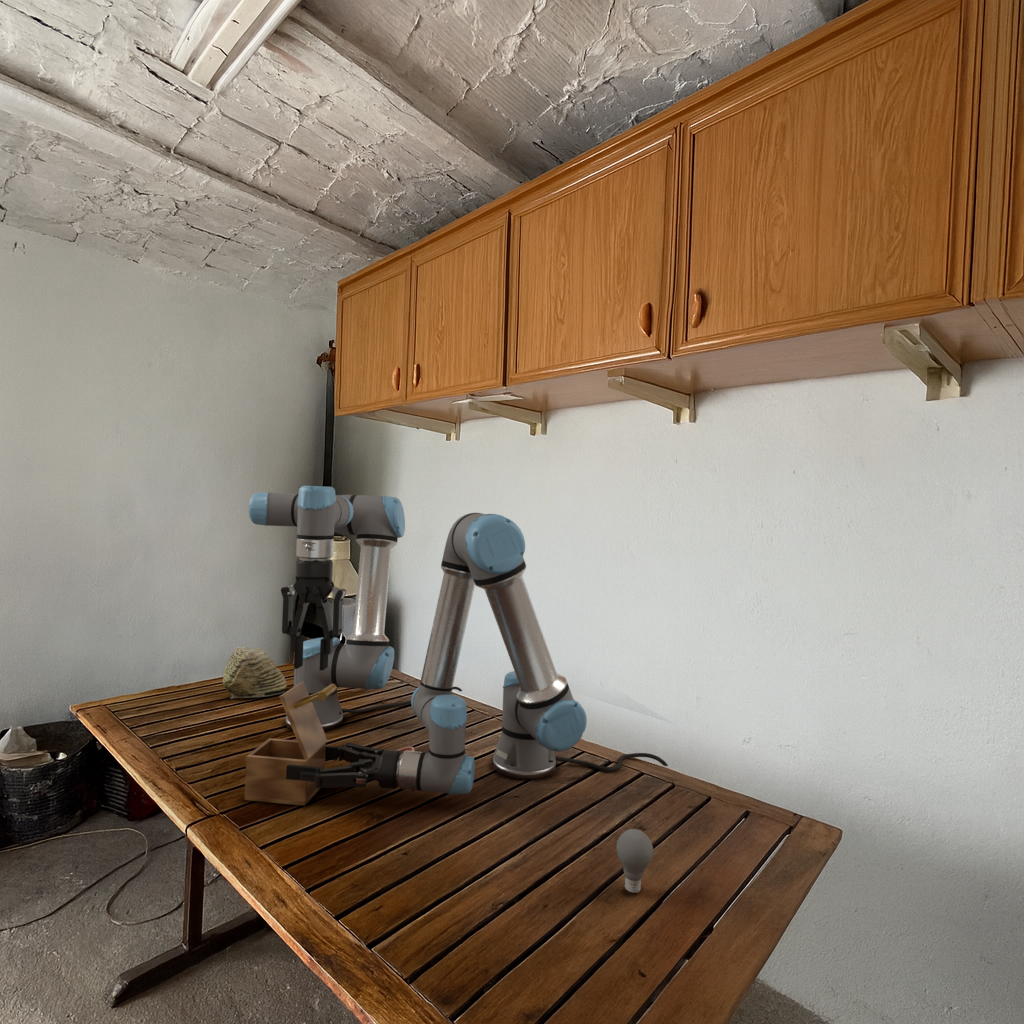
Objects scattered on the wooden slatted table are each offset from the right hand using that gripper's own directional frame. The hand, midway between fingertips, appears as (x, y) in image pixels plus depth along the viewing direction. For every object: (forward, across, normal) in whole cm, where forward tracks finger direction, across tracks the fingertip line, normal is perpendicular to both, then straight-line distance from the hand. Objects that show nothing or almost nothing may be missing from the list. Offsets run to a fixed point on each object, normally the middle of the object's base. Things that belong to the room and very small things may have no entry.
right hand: (298, 761), depth 135 cm
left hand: (-2, 0, +20) cm, 20 cm away
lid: (-1, 0, +9) cm, 9 cm away
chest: (+3, 0, -7) cm, 7 cm away
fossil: (+41, +60, -7) cm, 72 cm away
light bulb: (-68, -23, -7) cm, 73 cm away
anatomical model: (-14, +15, -7) cm, 22 cm away
